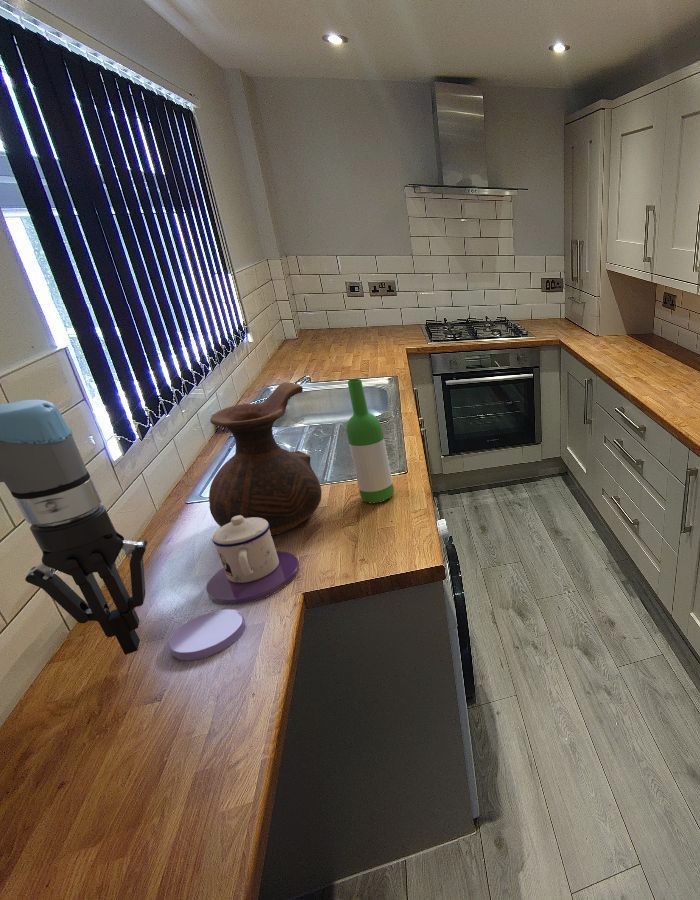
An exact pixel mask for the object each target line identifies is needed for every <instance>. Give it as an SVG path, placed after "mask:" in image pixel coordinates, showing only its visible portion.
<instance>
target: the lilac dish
mask: <svg viewBox="0 0 700 900" xmlns="http://www.w3.org/2000/svg"><path fill="white" fill-rule="evenodd" d="M245 629H246V622H245V619H244V616H243V614H242V613H241V612H240V611H238V610H236V609H230V608H229V609H228V608H227V609H226V608H223V609H217V610H212V611H209V612H205V613H202V614H200V615H198V616H196V617H194V618H192V619H189V620H187V621H186V622H185V623H184V624H182V625H180V626H179V627H178V628H177V629H176V630H175V631H174V632H173V633H172V634H171V636H170V638H169V639H168V648H169V650H170V652H171V654H172V656H173V658H175V659H177V660H180V661H196V660H201V659H204V658H207V657H208V658H209V657H210V656H213V655H215V654H218V653H220V652H222V651H224V650H226V649H227V648H229V647H230V646H231V645H233V644H234V643H235V642H237V640H239V639H240V638H241V636H242V635H243V633H244V631H245Z"/></svg>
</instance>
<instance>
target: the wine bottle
mask: <svg viewBox="0 0 700 900" xmlns="http://www.w3.org/2000/svg"><path fill="white" fill-rule="evenodd" d="M347 387H348V392H349V395H350V402H351V406H352V411H353V415H352V416H351V417H350V418H349V419H348V421H347V423H346V428H345V431H346V436H347V441H348V445H349V450H350V456H351V458H352V464H353V468H354V473H355V477H356V482H357V487H358V492H359V495H360V498H361V500H362V501H363V502H364V501H365V502H364V503H367V502H371V503H370V504H374V503H373V502H380V501H383V500H386V499H388V498H390V497H391V496H392V495H393V496H394V492H395V489H394V483H393V477H392V472H391V467H390V461H389V457H388V452H387V447H386V446H387V445H386V440H385V436H384V432H383V431H384V430H383V426H382V423H381V421H380V419H379V418H378V417H377V416H375V415H374V414H372V413H370V412H369V410H368V406H367V401H366V396H365V391H364V387H363V382H362V379H361V378H351V379H348V380H347ZM393 496H392V497H393ZM392 497H391V498H392ZM391 498H390V499H391ZM388 500H389V499H388ZM386 501H387V500H386ZM380 503H381V502H380Z"/></svg>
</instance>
